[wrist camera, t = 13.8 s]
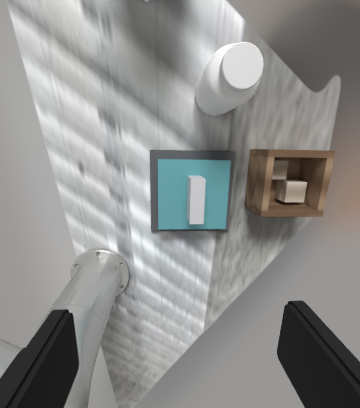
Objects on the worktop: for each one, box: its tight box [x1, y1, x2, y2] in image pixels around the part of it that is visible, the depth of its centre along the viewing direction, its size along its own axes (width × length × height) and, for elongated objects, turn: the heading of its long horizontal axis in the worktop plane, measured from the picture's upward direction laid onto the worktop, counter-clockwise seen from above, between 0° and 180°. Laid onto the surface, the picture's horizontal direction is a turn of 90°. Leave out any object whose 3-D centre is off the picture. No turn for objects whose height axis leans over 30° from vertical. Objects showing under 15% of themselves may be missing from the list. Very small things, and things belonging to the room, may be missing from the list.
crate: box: [245, 149, 335, 217], centre depth 42 cm, size 12×12×8 cm
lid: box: [158, 159, 231, 229], centre depth 40 cm, size 14×14×8 cm
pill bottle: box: [195, 42, 263, 116], centre depth 33 cm, size 8×8×15 cm
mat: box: [150, 150, 235, 231], centre depth 45 cm, size 17×17×1 cm
